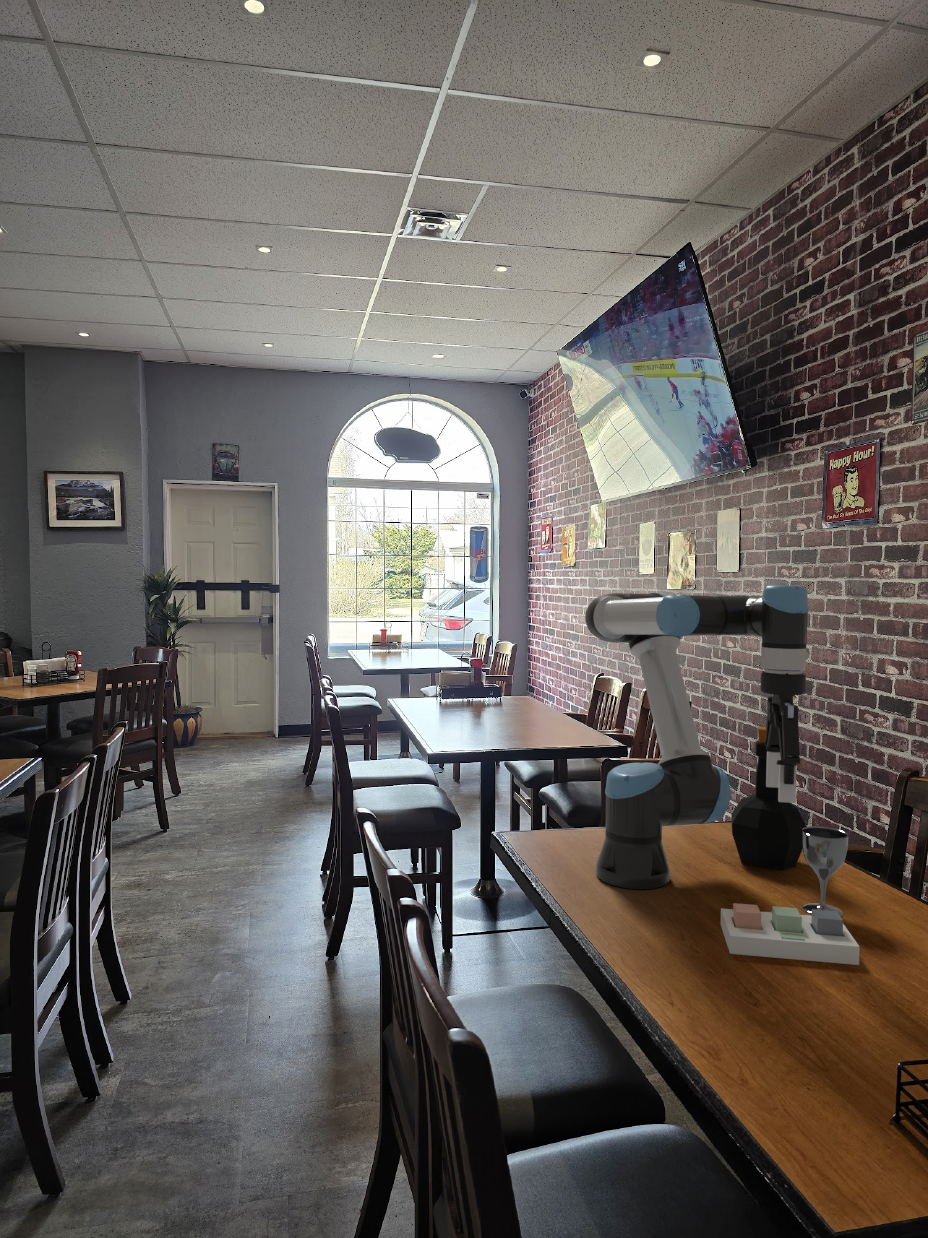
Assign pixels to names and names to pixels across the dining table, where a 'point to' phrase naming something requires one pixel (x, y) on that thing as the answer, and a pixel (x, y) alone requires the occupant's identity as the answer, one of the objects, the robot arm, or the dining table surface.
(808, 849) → the silver goblet
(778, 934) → the button board
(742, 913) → the salmon pink button
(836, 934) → the slate grey button
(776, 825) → the bottle
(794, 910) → the sage button
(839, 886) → the dining table surface
